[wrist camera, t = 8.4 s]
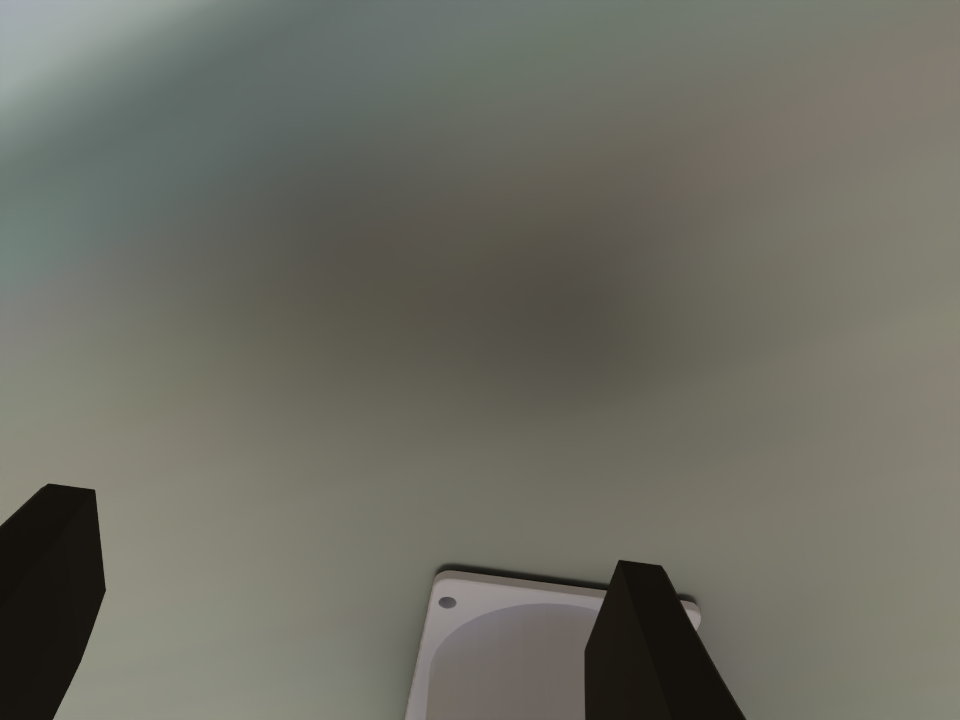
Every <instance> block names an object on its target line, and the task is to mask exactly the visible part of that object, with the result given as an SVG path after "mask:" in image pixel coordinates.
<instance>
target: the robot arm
mask: <svg viewBox="0 0 960 720" xmlns="http://www.w3.org/2000/svg"><path fill="white" fill-rule="evenodd" d="M105 591H106V588H105V579H104V569H103V560H102V550H101V541H100V532H99V522H98V513H97V503H96V494H95V490H94V489H86V488H79V487H71V486H64V485H56V484H47V485H46V486H44V487H42V488H41V489H40V490H39V491H38V492H37V493H35V494H34V495H33V496H32V497H31V498H30V499H29V500H28V501H27V502H26V503H25V504H24V505H23V506H22V507H20V508H19V509H18V510H17V511H16V512H15V513H14V514H13V515H12V516H11V517H10V518H9V519H8V520H6V521H5V522H4V523H3V524H2V525H1V526H0V720H53V718H54V716H55V714H56V712H57V710H58V708H59V706H60V704H61V702H62V700H63V698H64V696H65V693H66V691H67V689H68V687H69V685H70V683H71V681H72V679H73V677H74V675H75V673H76V671H77V669H78V666H79V664H80V662H81V660H82V657H83V654H84V651H85V649H86V646H87V643H88V640H89V638H90V635H91V632H92V629H93V626H94V623H95V620H96V618H97V615H98V612H99V609H100V606H101V603H102V600H103V597H104V594H105ZM445 597H451V598H445ZM700 623H701V614H700V610H699V608H698V606H697V605H696V604H694V603H692V602H688V601H682V600H680V599H679V597H678V595H677V593H676V591H675V589H674V587H673V585H672V583H671V581H670V579H669V577H668V575H667V573H666V572H665V570H664V569H663V567H662V566H660V565H653V564H646V563H638V562H631V561H623V560H619V561H618V564H617V566H616V569H615V572H614V574H613V577H612V579H611V582H610V585H609V587H608V590H607V591H606V590H598V589H590V588H583V587H575V586H568V585H560V584H552V583H545V582H537V581H529V580H522V579H514V578H506V577H499V576H491V575H484V574H476V573H468V572H461V571H444V572H440V573H439V574H438V575H436V576H435V578H434V581H433V585H432V590H431V595H430V600H429V604H428V609H427V614H426V619H425V623H424V628H423V633H422V637H421V642H420V647H419V652H418V656H417V661H416V666H415V671H414V675H413V680H412V685H411V690H410V694H409V699H408V704H407V708H406V713H405V718H404V720H746V719H745V717H744V715H743V714H742V712H741V710H740V708H739V707H738V705H737V703H736V702H735V700H734V698H733V696H732V695H731V693H730V691H729V690H728V688H727V686H726V684H725V683H724V681H723V679H722V678H721V676H720V674H719V672H718V671H717V669H716V667H715V665H714V663H713V662H712V660H711V658H710V656H709V654H708V653H707V651H706V649H705V647H704V645H703V643H702V641H701V639H700V638H699V636H698V634H697V632H696V631H697V629H698V627H699V625H700Z"/></svg>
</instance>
